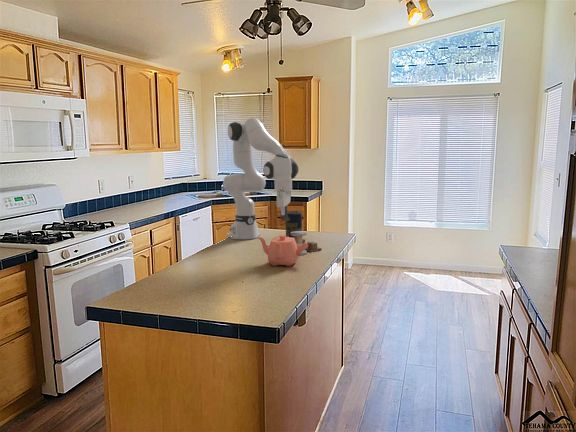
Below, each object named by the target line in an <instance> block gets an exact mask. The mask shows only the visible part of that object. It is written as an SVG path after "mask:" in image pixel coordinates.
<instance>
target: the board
mask: <svg viewBox="0 0 576 432" xmlns="http://www.w3.org/2000/svg"><path fill="white" fill-rule="evenodd" d="M304 242H305V243H306V244H307V245H308V247H307V248H306V249H305V250H306V251H307V252H310V253H313V252H314V251H315V252H319V251H322V250H323V249H322V248H321V247H318V242H315V241H307V242H306V239H304V238H302V244H303V243H304Z"/></svg>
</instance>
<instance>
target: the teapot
mask: <svg viewBox="0 0 576 432" xmlns="http://www.w3.org/2000/svg"><path fill="white" fill-rule="evenodd" d="M256 239H258V240H259V241H260V242H261V245H262V250H263V252H264V253H265V254H266V255H267V261H268V263H269V264H270V265H272V266H273V267H277V266H280V265H281V266H286V267H292V265H293V264H295V263H296V262H297V260H298V258H299V256H300V255H299V254H300V253H301V252H302V251H304V250H305V249H306V248H307V247H308V245H307V242H306V241H305V242H304V243H303V244H302V245H301V246H300V247H299V248H298V249H297V245H296V242H295V239H294V238H293V237H286V234H280V235H279V236H276V237H274V238H272V239H271V240H270V242H269V246H268V245H267V243H266V240H265V239H264V238H263V237H260V236H258V237H257V238H256Z"/></svg>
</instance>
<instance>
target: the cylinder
mask: <svg viewBox="0 0 576 432" xmlns="http://www.w3.org/2000/svg"><path fill="white" fill-rule="evenodd" d="M288 210H289V209H288V205H286V206H285V215H281V210H280V220H281V221H286V220H288V212H289V211H288Z"/></svg>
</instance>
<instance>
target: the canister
mask: <svg viewBox="0 0 576 432" xmlns="http://www.w3.org/2000/svg"><path fill="white" fill-rule="evenodd" d="M302 221H303V214H302V212H300V211H297V210H292V211H288V220H285V226H284V227H285V235H286V237H293V238H294V239H295V236H291V235H290V233H291V232H294V231H303V224H302V223H303V222H302Z"/></svg>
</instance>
